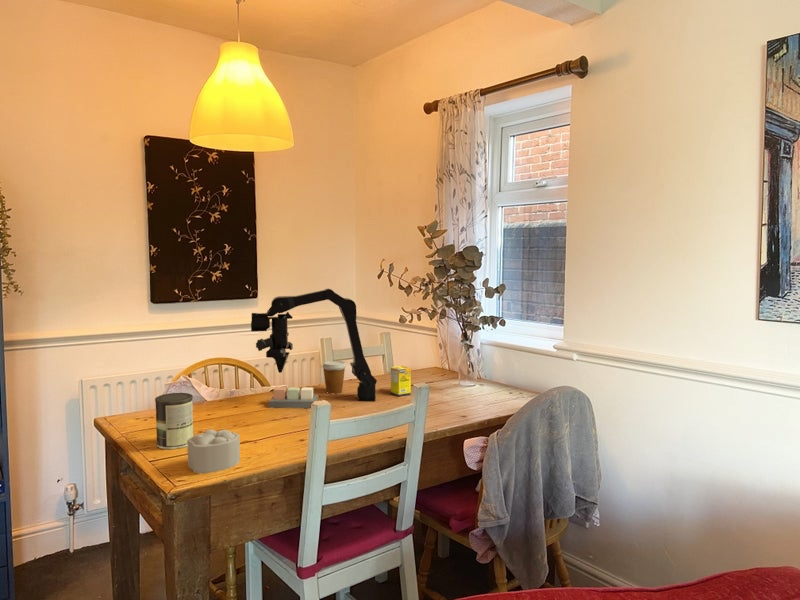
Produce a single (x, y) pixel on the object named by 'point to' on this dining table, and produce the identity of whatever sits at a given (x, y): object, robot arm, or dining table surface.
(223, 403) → the dining table surface
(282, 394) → the pink cube
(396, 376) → the supplement box
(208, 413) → the dining table surface
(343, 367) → the disposable coffee cup
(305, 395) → the cream white cube
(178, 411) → the coffee can
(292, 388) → the key mid
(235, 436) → the lumpy-topped squat cylinder
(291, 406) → the keypad base
